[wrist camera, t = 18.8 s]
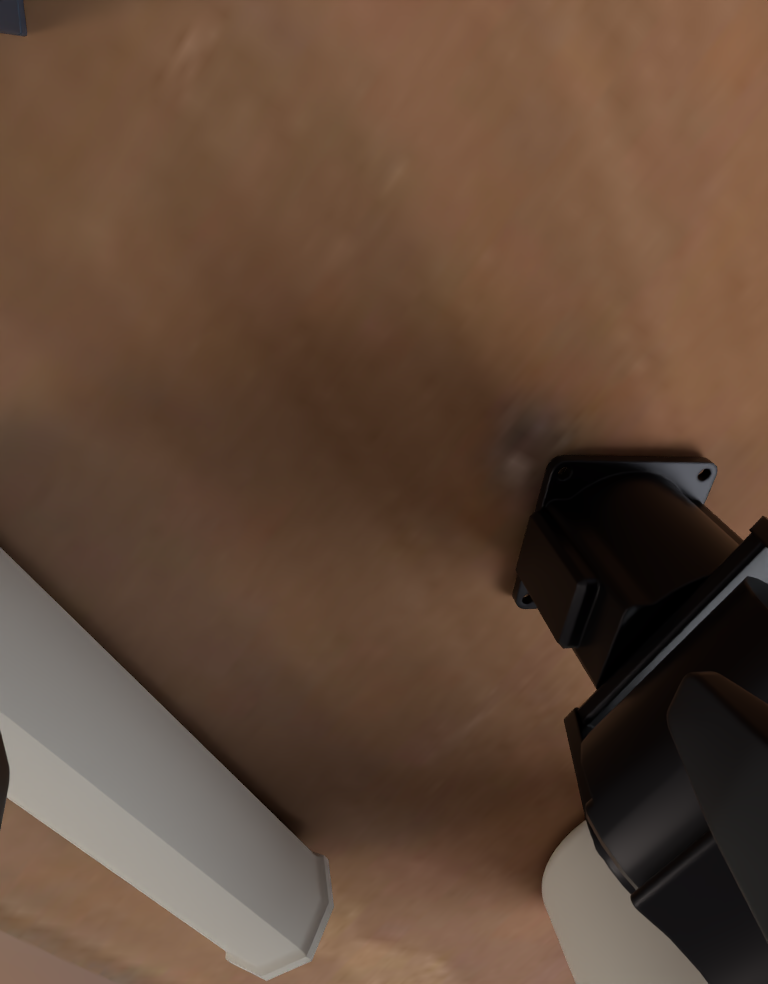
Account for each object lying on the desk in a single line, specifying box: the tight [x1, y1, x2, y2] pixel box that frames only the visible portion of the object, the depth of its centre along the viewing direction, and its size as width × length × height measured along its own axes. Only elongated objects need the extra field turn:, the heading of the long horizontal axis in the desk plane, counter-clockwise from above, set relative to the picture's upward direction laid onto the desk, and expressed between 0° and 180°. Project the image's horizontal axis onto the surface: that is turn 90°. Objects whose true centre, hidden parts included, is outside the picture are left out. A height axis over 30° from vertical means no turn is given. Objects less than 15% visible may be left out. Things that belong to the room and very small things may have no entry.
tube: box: [0, 547, 334, 981], centre depth 23 cm, size 5×5×25 cm
